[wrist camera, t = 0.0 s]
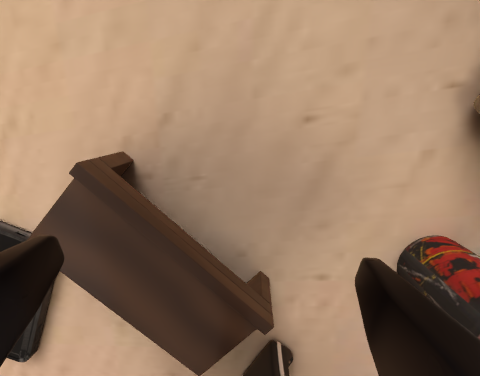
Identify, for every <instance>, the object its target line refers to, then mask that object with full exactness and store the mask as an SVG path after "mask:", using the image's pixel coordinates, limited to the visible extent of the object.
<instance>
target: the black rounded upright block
mask: <svg viewBox="0 0 480 376" xmlns="http://www.w3.org/2000/svg"><path fill="white" fill-rule="evenodd" d="M292 361H293V356H292V353H291V351H290V350H289V349H288V348H287V347H285V346H283V345H282V344H281V343H280V342H278V341H274V340H271V341H269V343H268V344H267V345H266V346H265V348H264V349H263V350H262V351H261V353H260V354H259V355H258V356H257V358H256V359H255V360H254V361H253V363H252V364H251V365H250V367H249V368H248V369H247V371H246V372H245V373H244V375H243V376H289V366H290V364H291V363H292Z"/></svg>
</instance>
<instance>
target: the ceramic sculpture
mask: <svg viewBox="0 0 480 376" xmlns="http://www.w3.org/2000/svg"><path fill="white" fill-rule="evenodd" d="M474 107H475V110H476V111H477V112H478V113H479V114H480V94H479V96H478V97H477V98H476V99H475V101H474Z"/></svg>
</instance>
